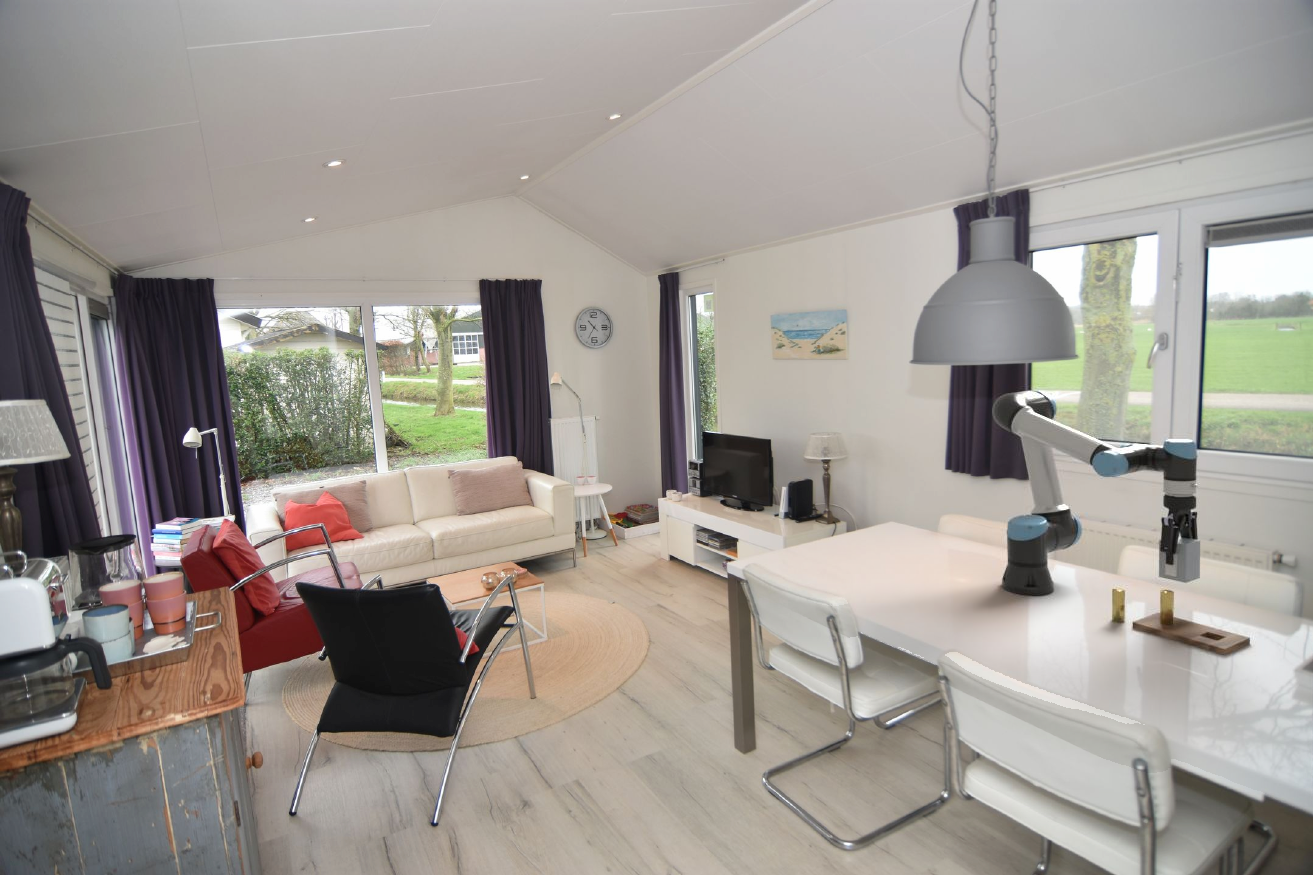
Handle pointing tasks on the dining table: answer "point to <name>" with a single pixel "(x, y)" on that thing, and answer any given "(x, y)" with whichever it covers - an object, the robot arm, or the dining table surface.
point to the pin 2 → (1166, 607)
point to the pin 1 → (1118, 605)
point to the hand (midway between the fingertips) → (1178, 572)
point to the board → (1193, 634)
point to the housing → (1183, 560)
